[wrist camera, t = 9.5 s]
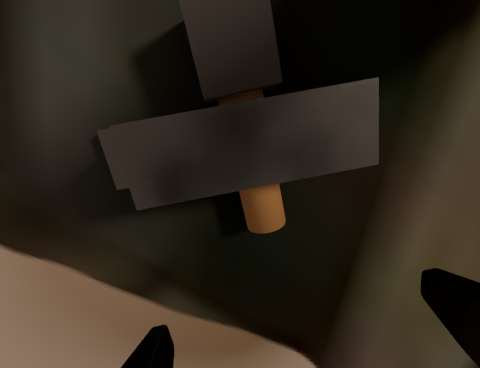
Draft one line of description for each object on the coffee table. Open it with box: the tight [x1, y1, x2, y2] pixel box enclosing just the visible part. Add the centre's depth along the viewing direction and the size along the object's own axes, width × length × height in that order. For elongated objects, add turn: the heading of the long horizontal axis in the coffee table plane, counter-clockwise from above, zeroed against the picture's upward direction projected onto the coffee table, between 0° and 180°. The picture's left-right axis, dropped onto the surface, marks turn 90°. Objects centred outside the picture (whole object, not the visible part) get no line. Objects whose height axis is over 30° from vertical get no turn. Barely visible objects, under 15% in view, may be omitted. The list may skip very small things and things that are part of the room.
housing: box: [96, 77, 379, 210], centre depth 14 cm, size 18×4×6 cm, turn 100°
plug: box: [179, 0, 286, 233], centre depth 15 cm, size 14×4×4 cm, turn 13°
